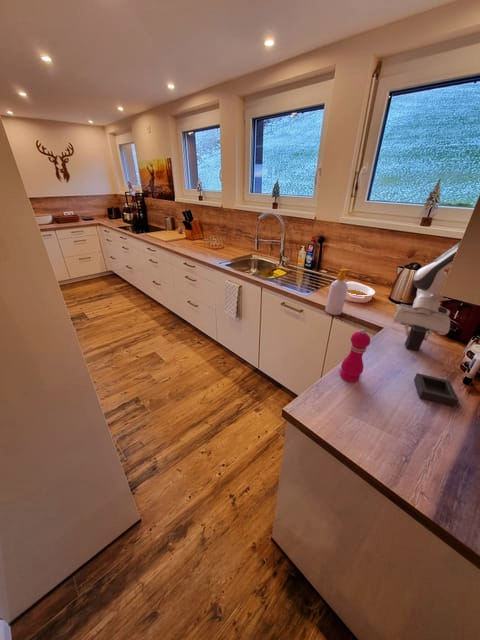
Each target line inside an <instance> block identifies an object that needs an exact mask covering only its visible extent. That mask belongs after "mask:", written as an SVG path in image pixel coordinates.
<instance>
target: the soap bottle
mask: <svg viewBox="0 0 480 640" xmlns="http://www.w3.org/2000/svg"><path fill="white" fill-rule="evenodd" d="M345 272H354V269H350V268H348V269H346V268H340V272H339V273H338V274H337V277H336V279H335V280H333V282H331V284H330V286H329V290H328V295H327V299H326V304H325V308H324V310H325V312H326V314H329V315H332V316H340V315H342V313H343V309H344V304H345V301H346V300H345V297H346V293H347V289H348V286H347V284H346V283H347V281H345V279H346V273H345Z"/></svg>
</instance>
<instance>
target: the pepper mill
mask: <svg viewBox="0 0 480 640" xmlns="http://www.w3.org/2000/svg"><path fill="white" fill-rule="evenodd" d="M350 342H351V343H350V345H349V348H350V352H349V354H348V355H347V356H346V357H345V358H344V359H343V360H342V362H341V369H340V377H341V378H342V379H343V380H344V381H346V382H349V383H357V382H358V381H359V379H360V375H362V373H363V372H364V362H363V361H364V360H363V354H364V353H366V350H367V348H368V347H369V346H370V344H371V337H370V335H369V334H368V333H367V330H366V329H365V328H361V329H360V330H359V331H356V332H354V333H352V335H351V336H350Z"/></svg>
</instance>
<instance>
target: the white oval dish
mask: <svg viewBox="0 0 480 640" xmlns="http://www.w3.org/2000/svg"><path fill="white" fill-rule="evenodd" d="M346 284H347V286H348V289H347V290H356V291H360V292H363V293H365V294H367V295H356V294H351V293H348V292H347V293H346V297H345V301H348V302H352V301H353V303H369V302H370V300H372V299H373V296H374V295H375V294H376V290H375V289H374V288H373V287H371V286H368V285H365V284H362V283H360V282H359V281H354V282H353V281H350V280H349V281H346ZM368 301H369V302H368Z"/></svg>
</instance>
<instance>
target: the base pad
mask: <svg viewBox="0 0 480 640" xmlns="http://www.w3.org/2000/svg"><path fill="white" fill-rule="evenodd" d="M413 382H414V385H415V388H416V392H417V395H418V399H421V400H424V401H428V402H432V403H436V404H440V405H444V406H448V407H450V408H456V406H457V404H458V403H459V397H458V395H457V393H456V391H455V390H454V387H453V385H452V383H451V381H450V380H447V379H444V378H440V377H435V376H432V375H427V374H423V373H418V372H417V373H416V374H415V376H414V378H413Z"/></svg>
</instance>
